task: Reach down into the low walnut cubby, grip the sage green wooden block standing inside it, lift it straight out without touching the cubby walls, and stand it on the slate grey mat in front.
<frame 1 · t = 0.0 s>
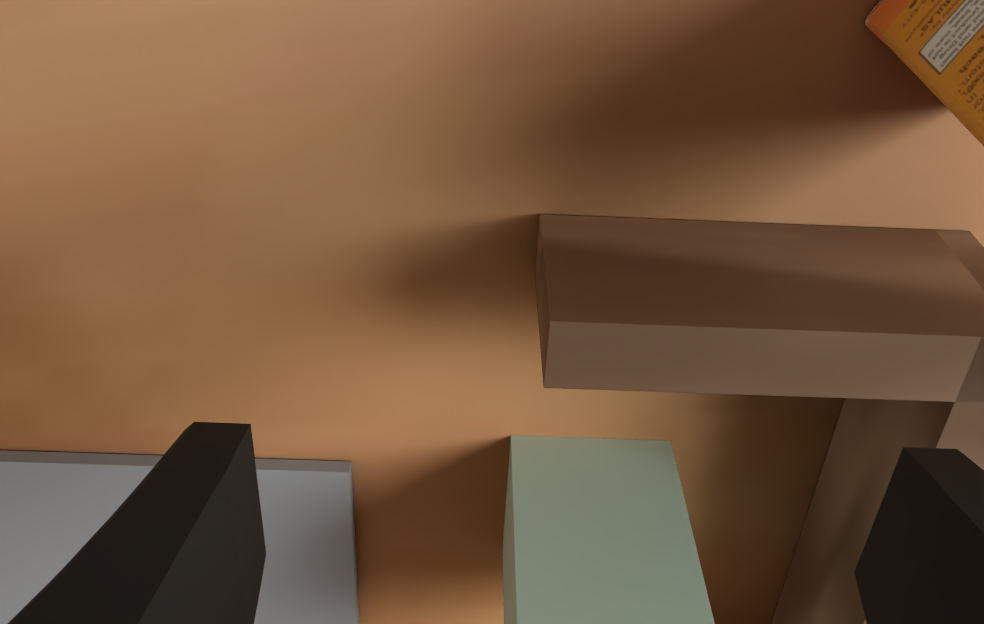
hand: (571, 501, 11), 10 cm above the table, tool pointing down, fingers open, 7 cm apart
walnut cubby: (583, 497, 25), on the table
sage block: (595, 604, 22), in the walnut cubby
supplement box: (968, 1, 18), on the table
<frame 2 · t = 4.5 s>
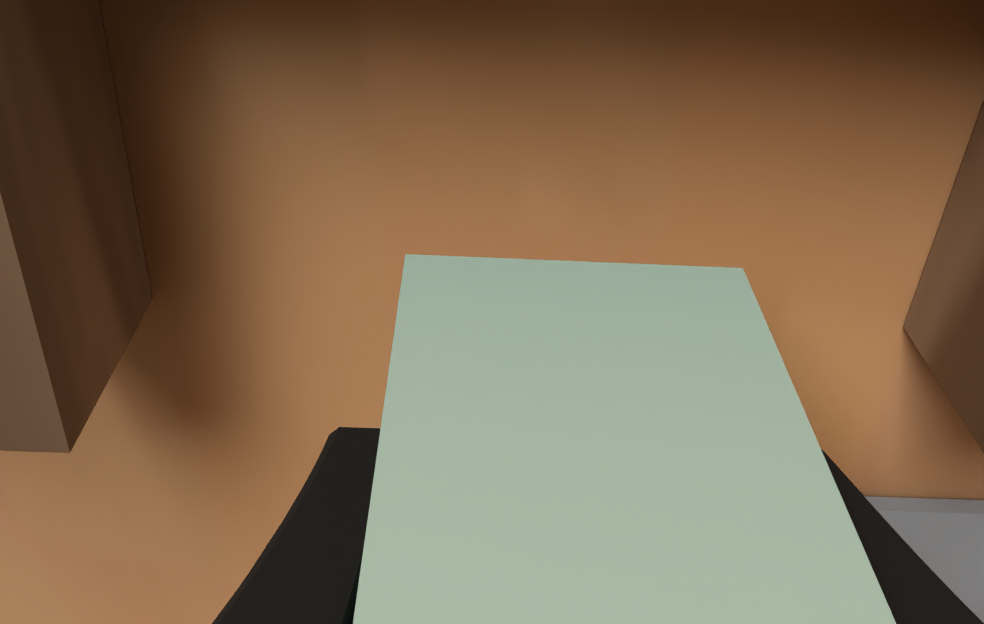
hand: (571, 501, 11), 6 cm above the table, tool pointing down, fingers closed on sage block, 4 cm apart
walnut cubby: (540, 227, 16), on the table
sage block: (582, 615, 9), point 8 cm above the table, touching gripper
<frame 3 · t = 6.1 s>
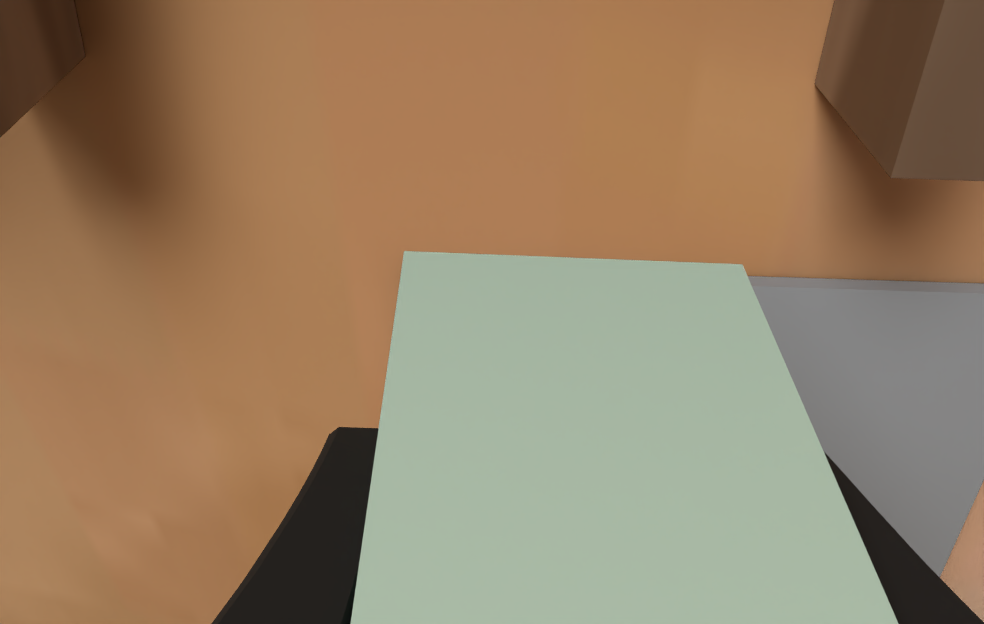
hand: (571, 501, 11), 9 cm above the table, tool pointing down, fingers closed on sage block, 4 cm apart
sage block: (581, 612, 9), point 11 cm above the table, touching gripper
slate mat: (682, 510, 24), on the table
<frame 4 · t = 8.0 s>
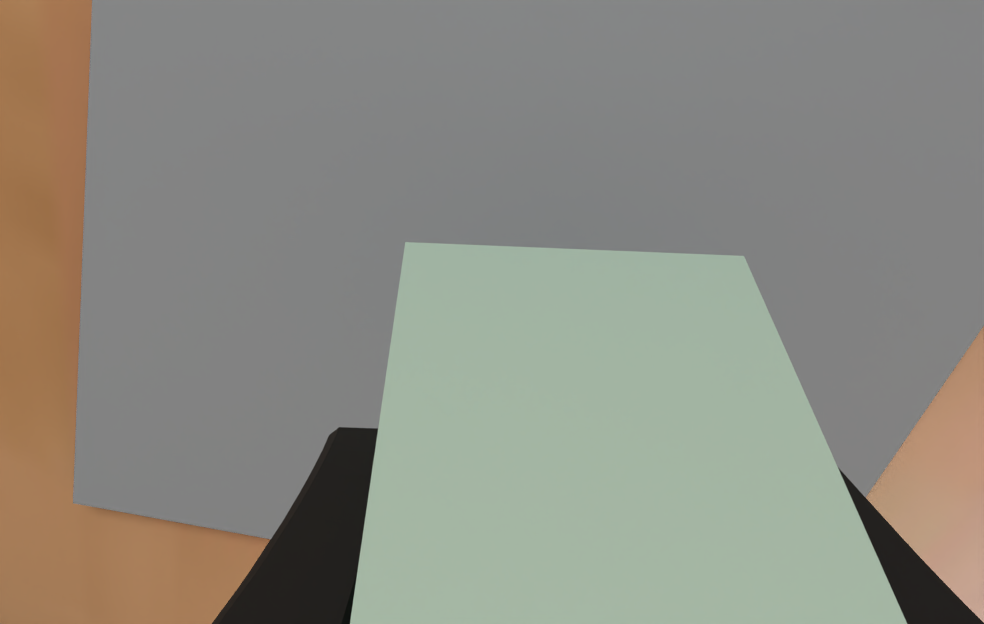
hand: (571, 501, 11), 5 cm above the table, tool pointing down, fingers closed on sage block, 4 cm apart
sage block: (583, 602, 9), point 7 cm above the table, touching gripper
slate mat: (549, 262, 15), on the table
when the fingers open (4 cm above the table, at t = 9.4 s): sage block drops 2 cm, resting on slate mat.
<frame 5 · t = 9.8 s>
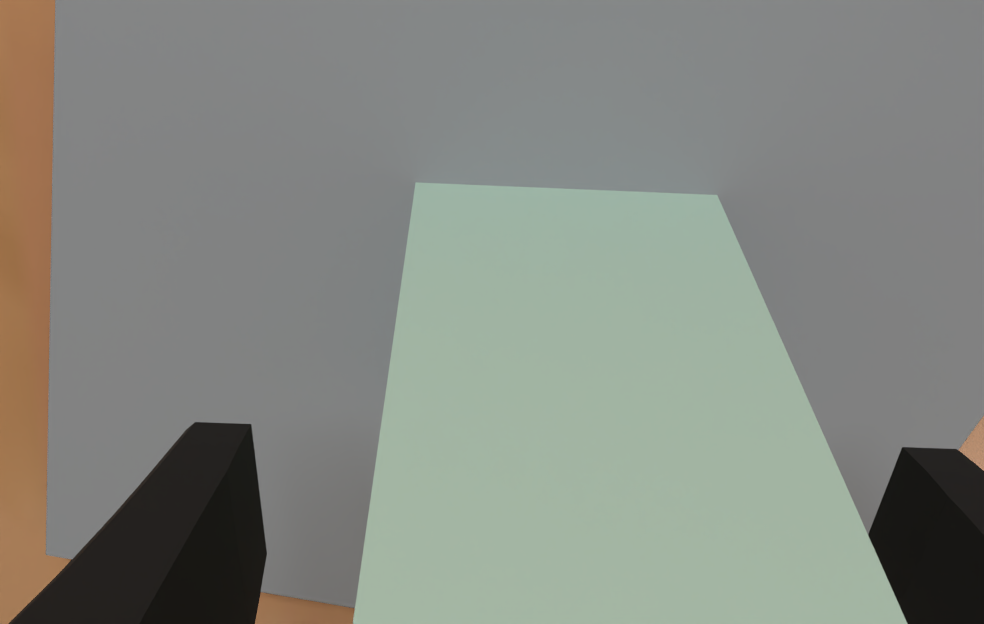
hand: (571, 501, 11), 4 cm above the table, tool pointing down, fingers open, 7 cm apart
sage block: (572, 487, 11), on the slate mat
slate mat: (551, 305, 14), on the table
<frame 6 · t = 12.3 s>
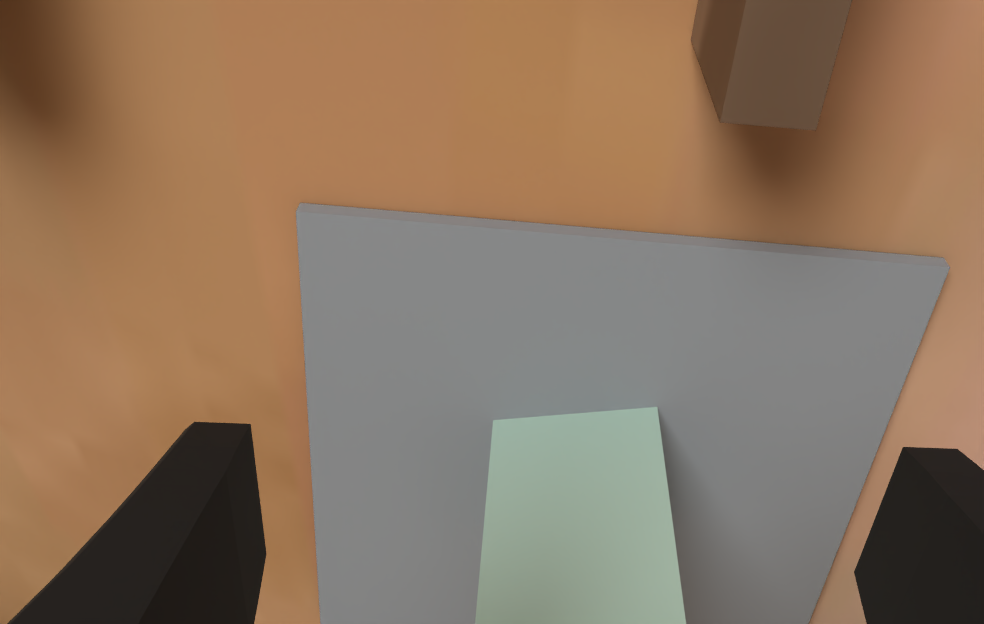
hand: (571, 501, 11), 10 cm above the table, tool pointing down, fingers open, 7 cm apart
sage block: (585, 583, 21), on the slate mat
slate mat: (582, 466, 24), on the table
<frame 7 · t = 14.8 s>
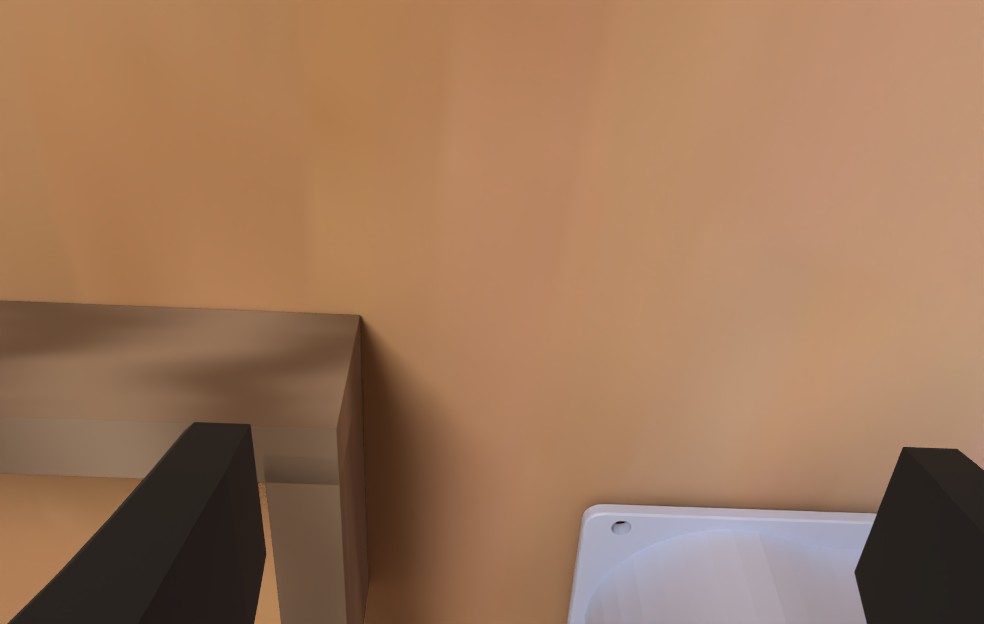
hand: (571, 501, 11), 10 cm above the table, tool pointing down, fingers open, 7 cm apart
walnut cubby: (62, 531, 26), on the table
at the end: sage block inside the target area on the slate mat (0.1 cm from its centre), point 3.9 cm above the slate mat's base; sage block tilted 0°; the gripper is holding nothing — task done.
